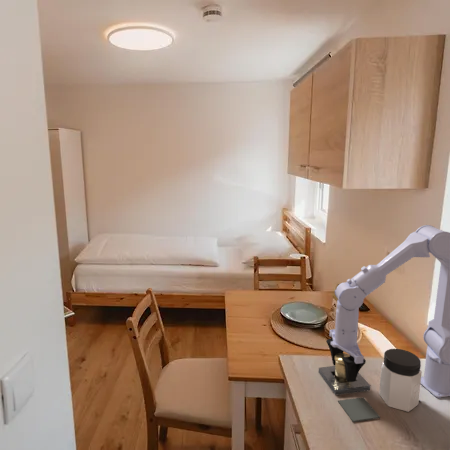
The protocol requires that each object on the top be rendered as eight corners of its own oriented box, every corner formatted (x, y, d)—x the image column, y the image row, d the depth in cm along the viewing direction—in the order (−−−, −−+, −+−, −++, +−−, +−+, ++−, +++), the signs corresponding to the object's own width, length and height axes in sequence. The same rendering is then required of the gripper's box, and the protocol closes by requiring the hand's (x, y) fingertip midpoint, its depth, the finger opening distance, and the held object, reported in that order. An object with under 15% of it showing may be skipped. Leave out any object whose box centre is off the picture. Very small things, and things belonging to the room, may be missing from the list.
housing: (350, 368, 100) (350, 363, 100) (370, 390, 91) (370, 385, 90) (318, 372, 99) (318, 367, 98) (335, 395, 89) (335, 390, 89)
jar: (404, 416, 81) (408, 371, 79) (373, 397, 88) (376, 355, 86) (423, 402, 86) (428, 359, 84) (392, 385, 93) (396, 344, 91)
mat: (363, 398, 88) (363, 397, 88) (379, 418, 81) (380, 416, 81) (338, 401, 86) (338, 400, 86) (352, 422, 80) (352, 420, 80)
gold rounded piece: (346, 374, 98) (348, 352, 96) (356, 386, 93) (358, 362, 91) (330, 376, 97) (331, 354, 95) (339, 388, 92) (340, 364, 90)
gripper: (320, 316, 98) (318, 359, 100) (346, 342, 84) (343, 391, 86) (343, 314, 99) (340, 356, 102) (372, 339, 85) (368, 387, 88)
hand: (343, 372), depth 94 cm, fingers open, 7 cm apart
